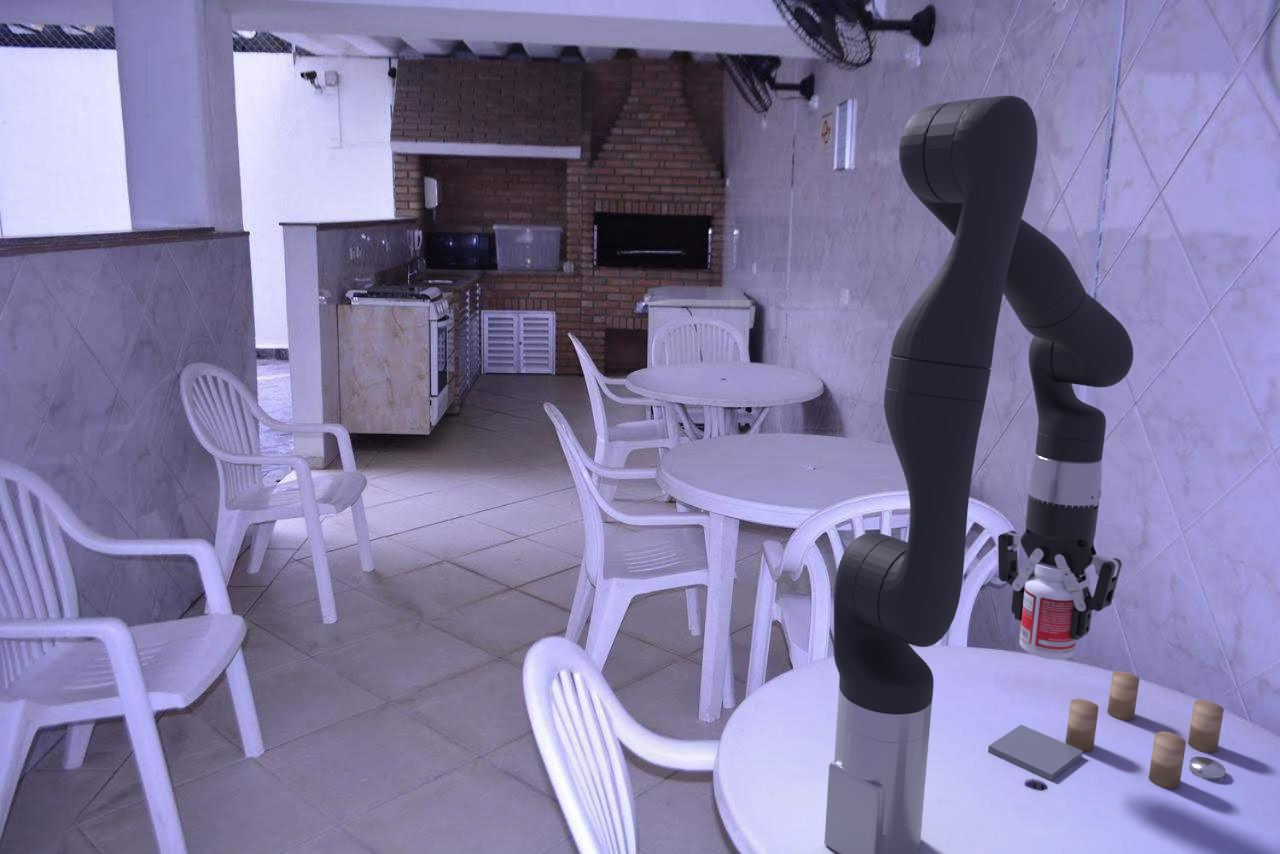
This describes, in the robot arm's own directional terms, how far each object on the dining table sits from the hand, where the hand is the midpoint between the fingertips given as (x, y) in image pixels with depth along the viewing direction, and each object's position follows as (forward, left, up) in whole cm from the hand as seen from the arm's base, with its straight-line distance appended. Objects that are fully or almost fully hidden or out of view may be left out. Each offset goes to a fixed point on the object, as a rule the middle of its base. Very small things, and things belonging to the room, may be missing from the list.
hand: (1048, 627), depth 110 cm
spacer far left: (+19, -13, -17) cm, 28 cm away
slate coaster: (0, 0, -17) cm, 17 cm away
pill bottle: (0, 0, -3) cm, 3 cm away
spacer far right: (+19, -3, -17) cm, 25 cm away
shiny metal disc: (+13, -15, -17) cm, 26 cm away
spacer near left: (+7, -13, -17) cm, 22 cm away
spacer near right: (+7, -3, -17) cm, 18 cm away
